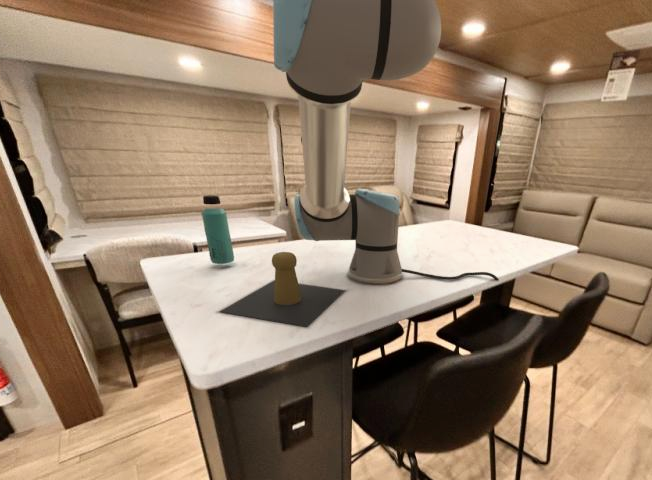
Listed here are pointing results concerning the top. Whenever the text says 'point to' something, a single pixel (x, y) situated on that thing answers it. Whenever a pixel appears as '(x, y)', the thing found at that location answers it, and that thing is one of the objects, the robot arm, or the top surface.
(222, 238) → the beverage bottle
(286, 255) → the cork
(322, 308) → the felt mat
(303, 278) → the top surface
